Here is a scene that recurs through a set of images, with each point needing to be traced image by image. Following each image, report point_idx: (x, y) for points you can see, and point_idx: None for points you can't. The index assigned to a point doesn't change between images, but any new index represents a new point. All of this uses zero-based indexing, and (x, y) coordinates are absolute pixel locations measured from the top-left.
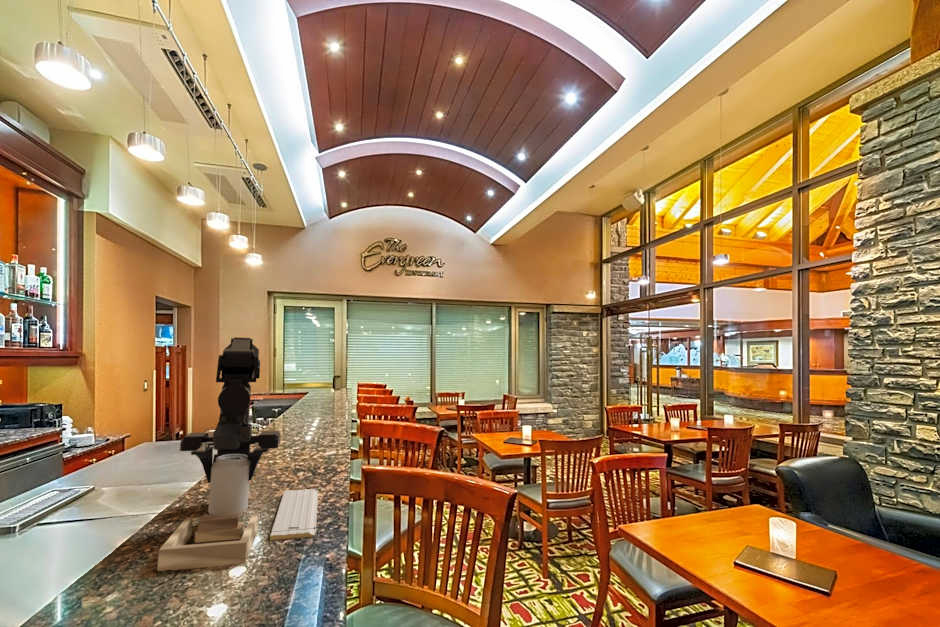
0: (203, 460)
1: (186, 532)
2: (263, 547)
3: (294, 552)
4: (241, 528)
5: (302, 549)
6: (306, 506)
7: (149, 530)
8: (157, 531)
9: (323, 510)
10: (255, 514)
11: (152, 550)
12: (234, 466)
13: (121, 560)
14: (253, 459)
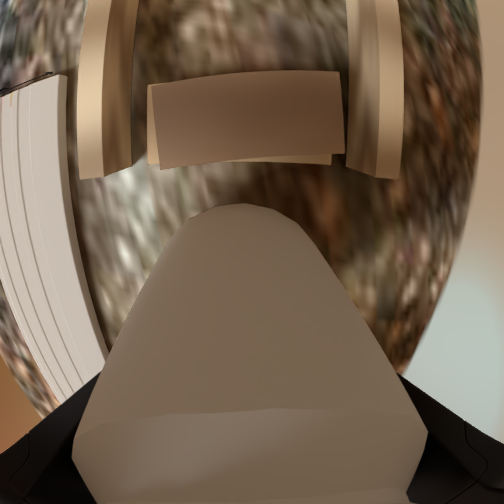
0: (502, 460)
1: (365, 91)
2: (83, 24)
3: (22, 9)
4: (148, 97)
5: (6, 28)
6: (33, 328)
7: (448, 252)
8: (434, 239)
9: (3, 306)
10: (90, 160)
11: (423, 83)
12: (159, 447)
13: (461, 54)
14: (18, 484)
